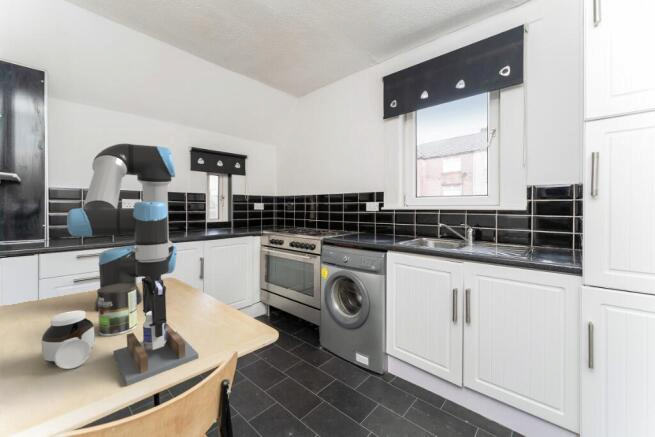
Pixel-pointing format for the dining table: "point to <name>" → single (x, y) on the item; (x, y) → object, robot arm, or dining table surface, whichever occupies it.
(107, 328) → the coffee can
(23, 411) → the dining table surface
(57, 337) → the spread jar
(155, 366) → the plate
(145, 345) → the pill bottle
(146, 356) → the wooden rail pair
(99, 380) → the dining table surface
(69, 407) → the dining table surface
